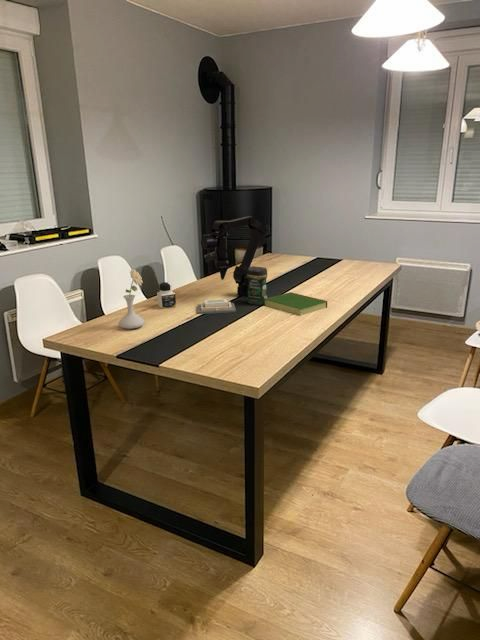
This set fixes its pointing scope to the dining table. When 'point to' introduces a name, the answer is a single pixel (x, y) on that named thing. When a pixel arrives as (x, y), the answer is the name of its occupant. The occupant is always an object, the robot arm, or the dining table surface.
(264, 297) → the coffee jar
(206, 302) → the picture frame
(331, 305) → the dining table surface
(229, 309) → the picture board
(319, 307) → the hardcover book
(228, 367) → the dining table surface
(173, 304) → the medicine bottle
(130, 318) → the flower in vase
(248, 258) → the robot arm
